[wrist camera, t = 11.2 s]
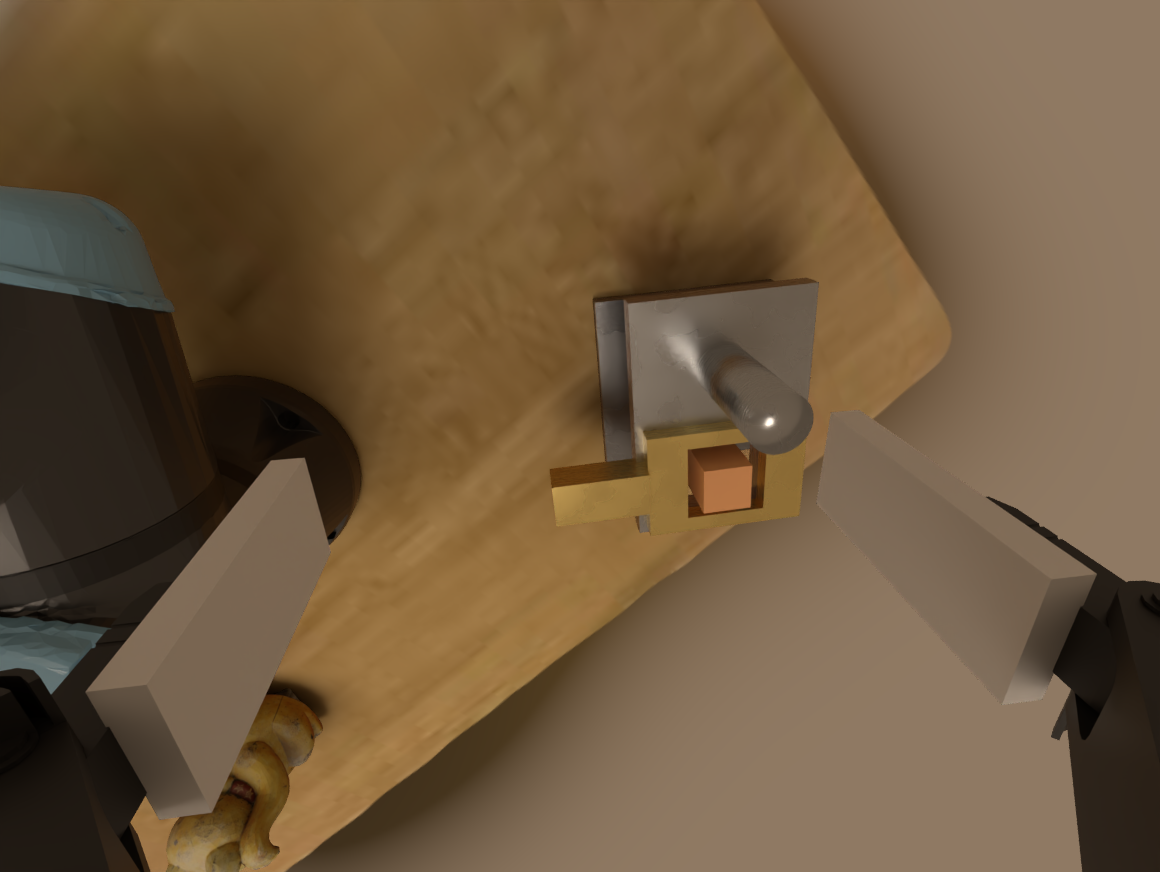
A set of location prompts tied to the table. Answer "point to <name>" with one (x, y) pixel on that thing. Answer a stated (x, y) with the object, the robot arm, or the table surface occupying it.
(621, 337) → the grey and yellow stand
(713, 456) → the wedge pin
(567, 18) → the table surface
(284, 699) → the decorative figurine
